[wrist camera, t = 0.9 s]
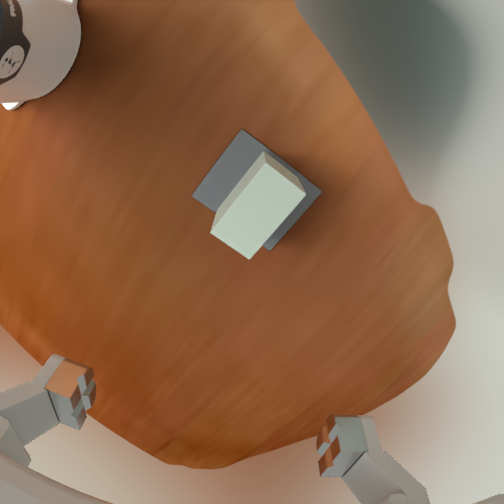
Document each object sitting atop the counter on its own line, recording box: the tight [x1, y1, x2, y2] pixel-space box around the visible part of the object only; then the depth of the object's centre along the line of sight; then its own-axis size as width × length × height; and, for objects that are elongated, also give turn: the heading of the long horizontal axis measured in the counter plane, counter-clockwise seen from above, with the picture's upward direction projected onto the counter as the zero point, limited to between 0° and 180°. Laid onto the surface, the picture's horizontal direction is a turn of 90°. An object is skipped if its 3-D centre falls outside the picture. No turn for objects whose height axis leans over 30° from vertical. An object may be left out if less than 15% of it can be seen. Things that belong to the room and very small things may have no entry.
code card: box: [192, 129, 322, 251], centre depth 38 cm, size 12×10×1 cm
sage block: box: [210, 151, 306, 260], centre depth 35 cm, size 5×9×7 cm, turn 142°
